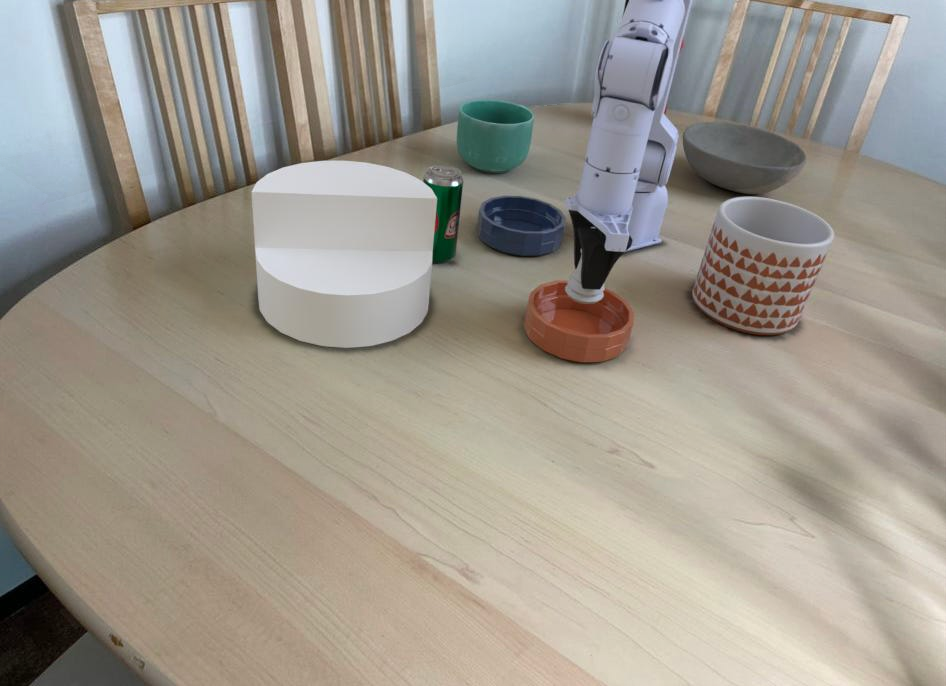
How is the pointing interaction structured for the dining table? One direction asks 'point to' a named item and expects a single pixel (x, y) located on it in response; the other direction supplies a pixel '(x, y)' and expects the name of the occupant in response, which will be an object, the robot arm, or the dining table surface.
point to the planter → (761, 264)
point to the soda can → (445, 209)
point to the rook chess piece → (578, 292)
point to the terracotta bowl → (578, 324)
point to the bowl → (742, 156)
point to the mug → (494, 134)
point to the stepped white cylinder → (343, 251)
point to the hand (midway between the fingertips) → (587, 278)
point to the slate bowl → (520, 225)
